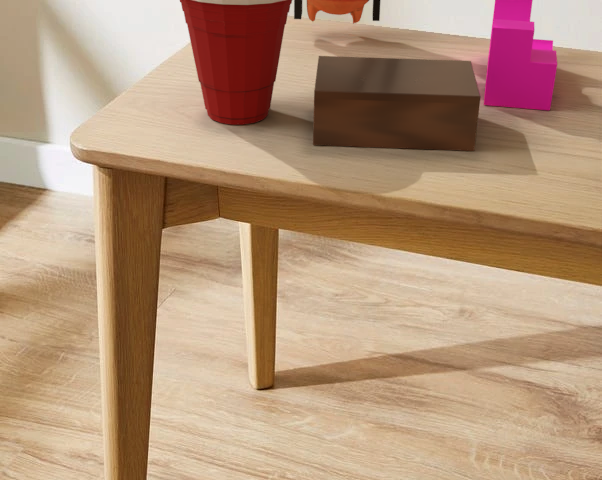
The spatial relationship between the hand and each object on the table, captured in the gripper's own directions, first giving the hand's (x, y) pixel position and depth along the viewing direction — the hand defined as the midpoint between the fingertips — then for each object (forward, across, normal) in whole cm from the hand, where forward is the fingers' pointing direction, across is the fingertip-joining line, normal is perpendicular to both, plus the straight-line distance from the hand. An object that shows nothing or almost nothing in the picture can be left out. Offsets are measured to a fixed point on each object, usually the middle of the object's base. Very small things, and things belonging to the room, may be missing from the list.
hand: (337, 16), depth 109 cm
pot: (+1, 0, 0) cm, 1 cm away
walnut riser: (+3, -6, +26) cm, 26 cm away
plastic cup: (+3, +9, +23) cm, 25 cm away
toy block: (+3, -19, +12) cm, 23 cm away
